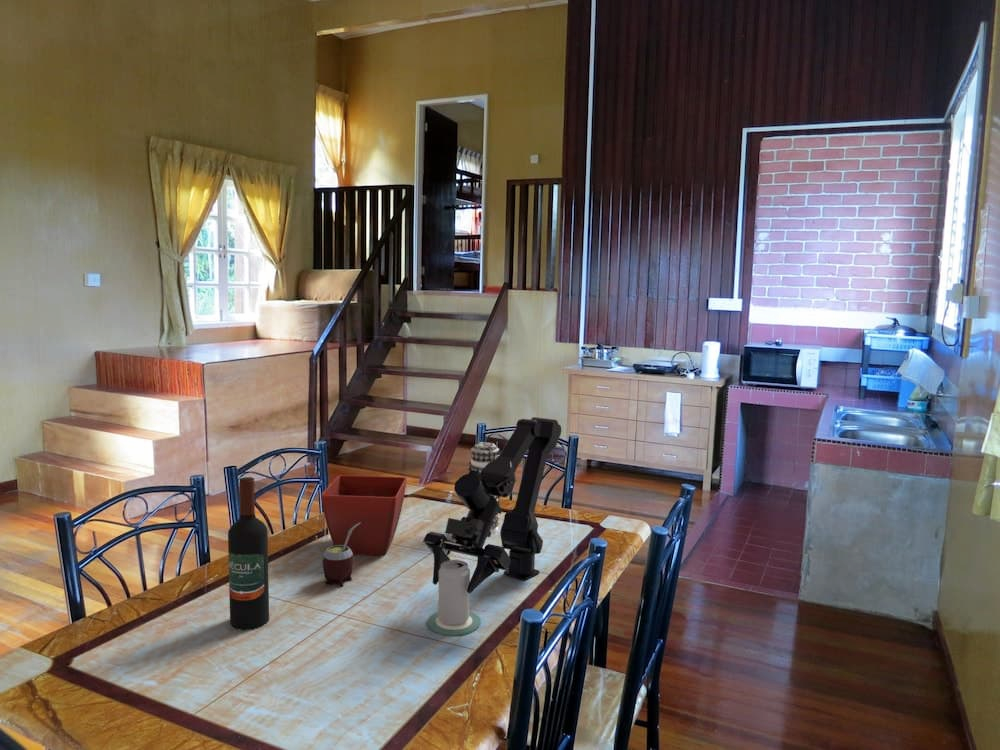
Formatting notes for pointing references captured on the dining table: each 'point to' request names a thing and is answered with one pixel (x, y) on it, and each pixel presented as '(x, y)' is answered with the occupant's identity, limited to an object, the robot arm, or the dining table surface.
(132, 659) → the dining table surface
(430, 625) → the coaster
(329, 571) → the mate gourd
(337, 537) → the plant pot
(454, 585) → the beverage can
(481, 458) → the decorative candle
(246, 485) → the wine bottle
